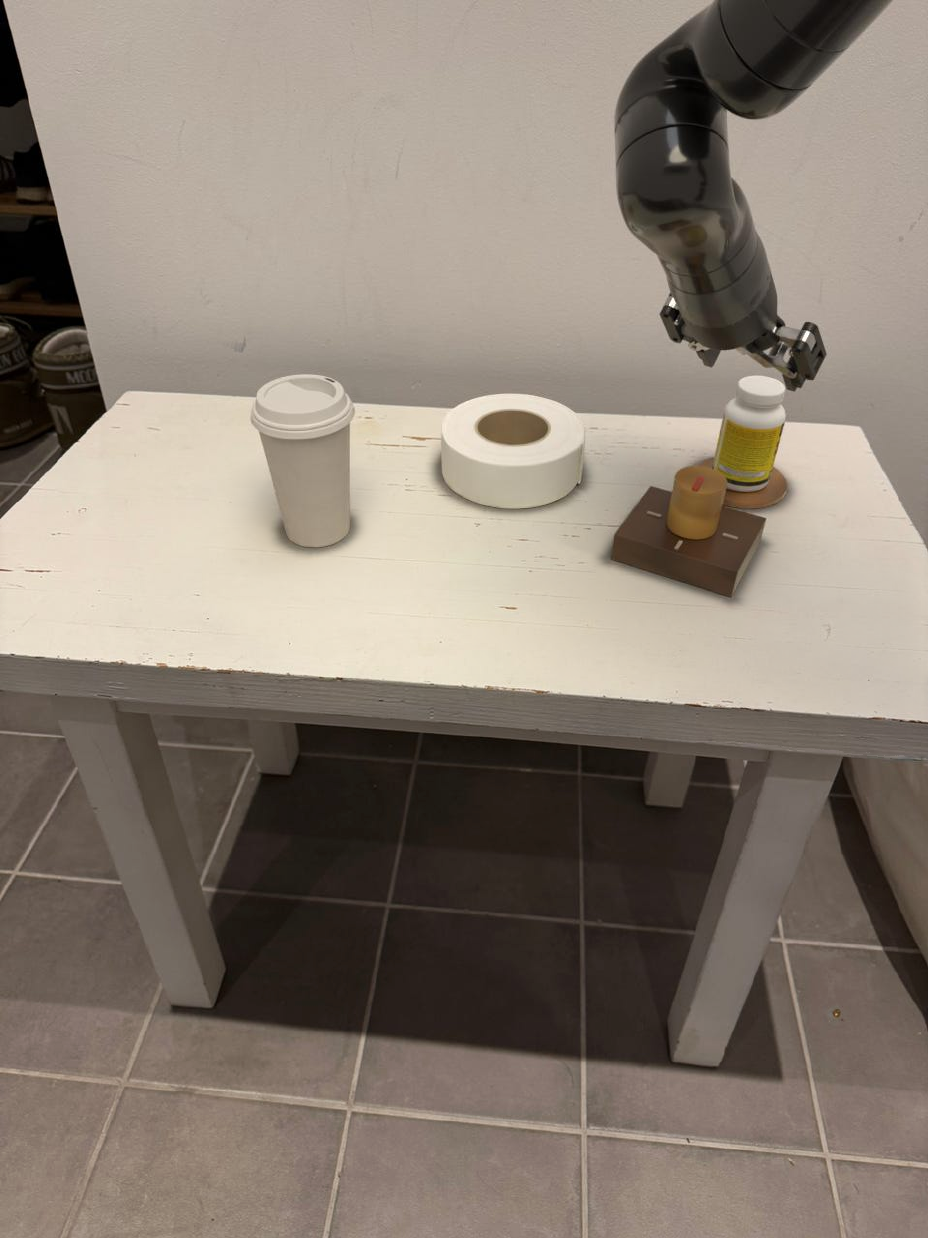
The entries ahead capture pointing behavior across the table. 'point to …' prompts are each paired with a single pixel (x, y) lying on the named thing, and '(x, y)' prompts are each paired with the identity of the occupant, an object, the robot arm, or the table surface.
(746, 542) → the panel
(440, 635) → the table surface
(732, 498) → the coaster
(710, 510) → the knob
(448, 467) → the tape roll
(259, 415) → the coffee cup
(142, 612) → the table surface
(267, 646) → the table surface
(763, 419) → the pill bottle
